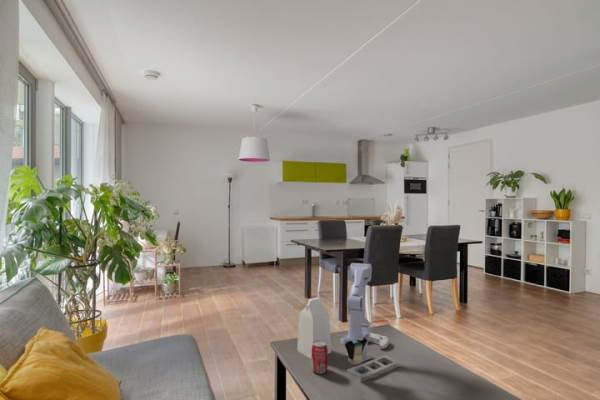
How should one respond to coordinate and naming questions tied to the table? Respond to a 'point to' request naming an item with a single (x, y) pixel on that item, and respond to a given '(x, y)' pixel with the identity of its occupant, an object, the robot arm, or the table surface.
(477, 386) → the table surface
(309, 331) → the milk
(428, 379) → the table surface
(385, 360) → the grey compartment tray
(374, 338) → the game controller
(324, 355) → the soda can
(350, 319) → the robot arm
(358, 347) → the peg
